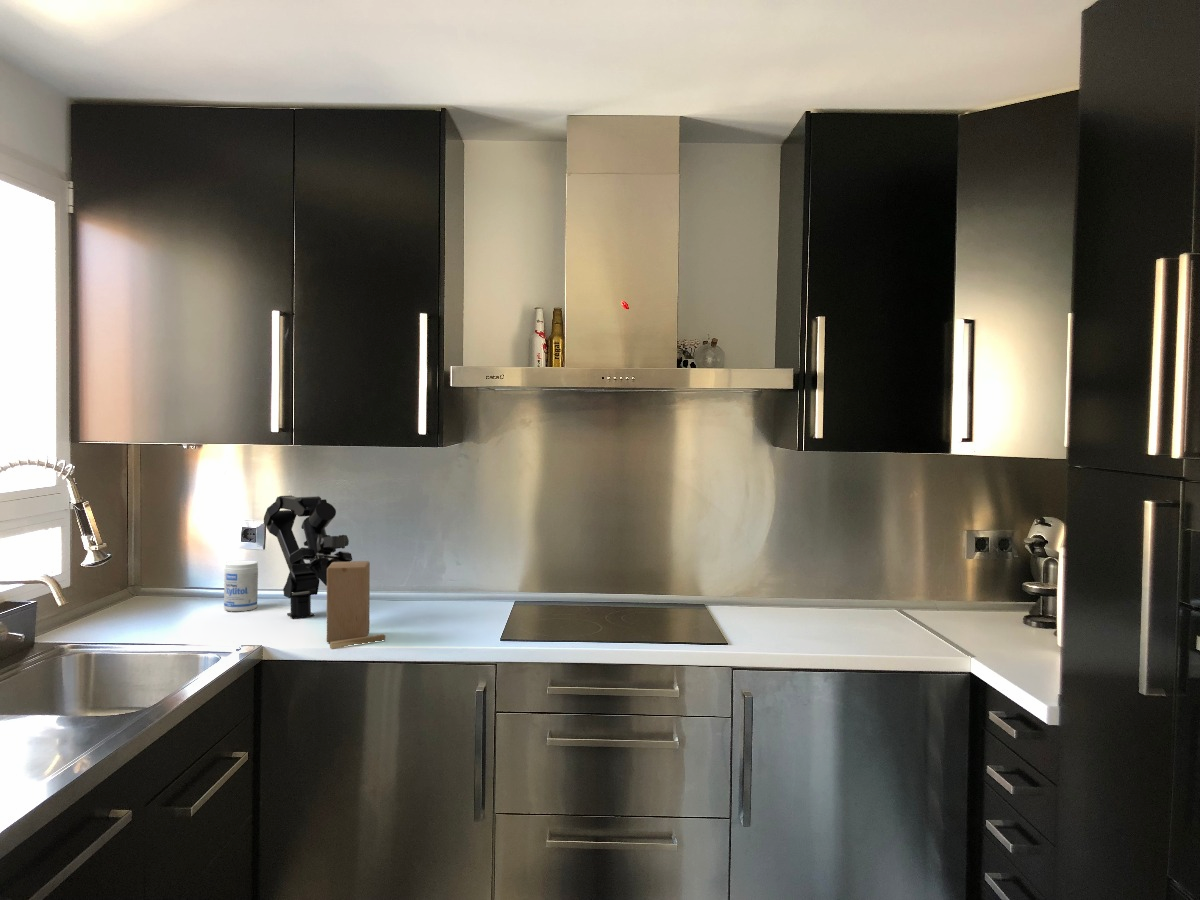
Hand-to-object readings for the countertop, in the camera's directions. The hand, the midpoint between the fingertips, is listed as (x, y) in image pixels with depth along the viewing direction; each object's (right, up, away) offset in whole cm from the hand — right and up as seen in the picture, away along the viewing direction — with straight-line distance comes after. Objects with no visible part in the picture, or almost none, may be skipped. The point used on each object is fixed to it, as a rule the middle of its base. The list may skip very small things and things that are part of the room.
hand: (328, 585), depth 220 cm
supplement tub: (-36, -12, +24) cm, 44 cm away
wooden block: (+9, -13, -11) cm, 19 cm away
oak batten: (+14, -12, -17) cm, 25 cm away
